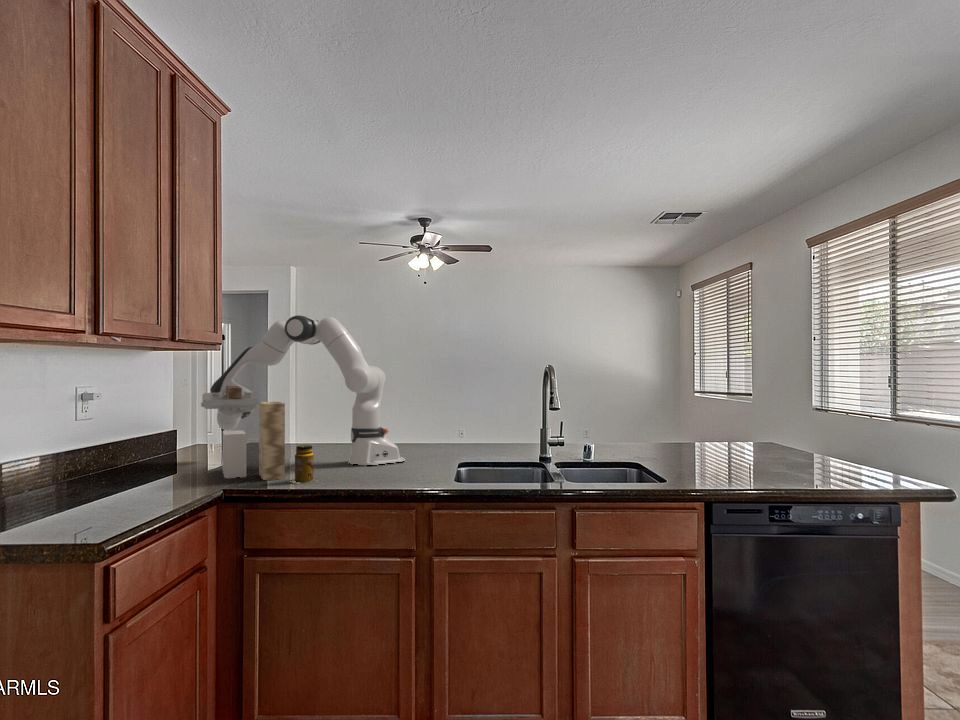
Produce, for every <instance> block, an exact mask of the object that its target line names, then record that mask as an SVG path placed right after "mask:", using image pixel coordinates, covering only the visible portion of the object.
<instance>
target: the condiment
mask: <svg viewBox="0 0 960 720" xmlns="http://www.w3.org/2000/svg"><path fill="white" fill-rule="evenodd" d="M295 449H296V450H295V452H296V453H295V455H294V479H289V480H286V481H292V480H295V481H296V482H302V483H297V484H296V485H300V484H306V483H305V482H309V483H312V482H311V481H313V480H314V458H315V457H314V453H313V445H311V444H301V445H297V446H296V448H295ZM315 480H316V479H315ZM316 482H318V480H316Z"/></svg>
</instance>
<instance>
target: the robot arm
mask: <svg viewBox="0 0 960 720" xmlns="http://www.w3.org/2000/svg"><path fill="white" fill-rule="evenodd" d="M294 343H301V344H302V345H312V346H313V345H317V344H319V343H322V344H323V346H324V347H325V349H326V350H327V352H328V353H329V354H330V356H331V357H332V359H333V360H334V361H335V363H336V364H337V365H338V367H339V369H340V372H341V373H342V376H343V378H344V383H345V386H346V388H347V389H348V390H349V391H351V392H353V393H355V395H356V397H355V400H354V404H353V407H352V413H351V414H352V415H351V416H352V417H351V418H352V419H351V422H352V426H351V430H350V441H351V448H350V454H349V459H348V462H347V463H348V464H349V463H350V464H349V465H353V464H358V465H357V466H367V465H377V466H379V465H378V464H385V463H394V464H396V463H395V462H402V461H405V462H406V458H404V457H402V456H401V455H400V450H399V447H398V446H397V444H396V443H394V442H393V441H391V440H390V439H389V438H388V437H386V435H387V434H389V429H388V428H383V427H381V406H382V400H383V394H384V387H385V384H386V382H387V376H386V373H385V371H384V370H382V369H381V368H380V367H378V366H376V365H369V364H368V363H367V360H366V359H365V357H364V354H363V352H362V349H361V347H360V345H359V344H358V343H357V341H356V340H355V338H354V337H353V336H352V335H351V333H350V332H349V331H348V329H347V328H346V327H345V326H344V325H343V324H342V323H341V321H339V320H338V319H336V317H333V316H328V317H324V318H322V319H321V320H320V321H319V320H317V319H314V318H312V317H309V316H305V315H299V314H298V315H294V316H291V317H289V318H288V319H287V320H277V321H275V322H274V323H273V324H272V325H271V326H270V327H269V328H268V330H267V331H266V332H265V334H264V335H263V337H262V338H261V340H260V341H259V343H257V344H256V345H254V346H249V347H247V348H246V349H244V350H243V351H242V352H241V353H240V354H239V355H238V356H237V358H235V360H234V361H233V362H232V363H231V364H230V365H229V367H228V368H227V369H226V370H225V371H224V373H222V375H221V376H220V377H219V378H218V379H216V380H215V382H213V383H212V385H211V387H210V389H209V390H210V392H203V394H202V402H201V403H200V407H202V408H204V409H205V410H206V409H207V410H217V413H216V423H217V425H218V426H219V428H220V429H222V431H234V430H235V429H236V428H237V427H238V425H239V423H240V422H241V420H242V419H245V418H247V417H249V416H250V415H252V414H254V413H255V409H257V408H258V405H259V402H260V393H259V392H258V391H257V392H256V391H252V390H250V389H248V388H246V387H244V386H242V385H240V384H239V383H237V382H235V380H234V379H235V378H236V377H237V375H238V374H239V373H240V372H241V371H242V370H243V369H244V367H245V366H247V365H249V364H251V365H252V364H254V365H259V366H269V367H270V366H275V365H278V364H279V363H280V362H281V361H282V360H283V359H284V357H285V356H286V355H287V353H288V351H289V349H290V348H291V346H292V345H293V344H294ZM226 386H239V387H241V388H242V399H228V398H227V397H226V394H227V389H226ZM385 465H386V464H385Z"/></svg>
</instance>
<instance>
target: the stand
mask: <svg viewBox="0 0 960 720" xmlns="http://www.w3.org/2000/svg"><path fill="white" fill-rule="evenodd" d="M258 405H259V407H258V411H259V412H258V414H259V415H258V420H259V421H258V428H259V429H258V475H259V476H261V477H260V478H261V479H263V480H266V481H274V480H273V479H279V480H285V479H286V478H285V474H286V469H285V468H286V465H285V464H286V457H285V456H286V449H285V448H286V417H285V416H286V415H285V414H286V413H285V412H286V403H284V402H281V401H259V404H258ZM284 478H285V479H284ZM263 480H262V481H263Z"/></svg>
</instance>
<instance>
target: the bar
mask: <svg viewBox="0 0 960 720" xmlns="http://www.w3.org/2000/svg"><path fill="white" fill-rule="evenodd" d="M226 389H227V394H226V397H227V398H228V399H242V388H241V387H239V386H226Z"/></svg>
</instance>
